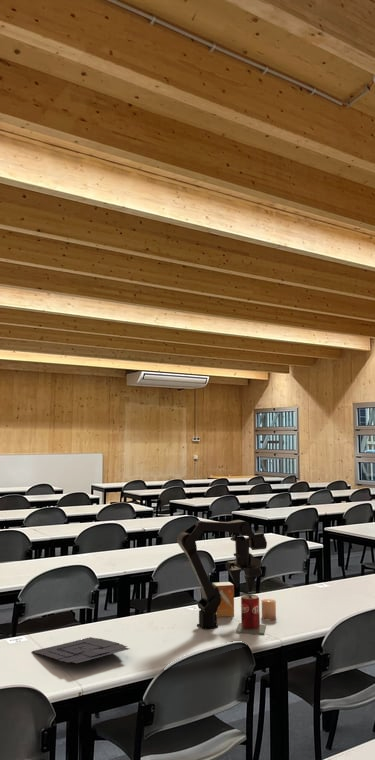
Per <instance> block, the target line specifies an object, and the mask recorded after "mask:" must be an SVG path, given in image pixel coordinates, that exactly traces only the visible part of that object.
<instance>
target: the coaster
mask: <svg viewBox="0 0 375 760" xmlns="http://www.w3.org/2000/svg"><path fill="white" fill-rule="evenodd" d="M266 628H267V624H261V623H260V627H259V629H257V630H245V629H243V628H242V626H241V622H239V623H238V624H237V627H236V629H235V634H245V635H246V634H247V635H259V636H261V635H262V636H264V635H265V632H266Z"/></svg>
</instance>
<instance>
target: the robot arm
mask: <svg viewBox="0 0 375 760" xmlns="http://www.w3.org/2000/svg"><path fill="white" fill-rule="evenodd" d="M204 532H224V533H226V532H227V533H232V534H233V535H232V536H231V537H230V538H229V539H230V541H232V542H235V544H234V545H235V547H234V548H235V552H234V553H233V556H234V557H235V560H231V561H226V563H225V564H224V565H225V566H224V567H225V570H227V572H228V573H229V576H230V577H231V579H232V581H233V585H234V587H235V588H239V586H240V573H241V572H242V571H243V573H244V579H245V583H246V588H247V590H248V592H249V593H252V591H253V587H254V584H255V581H256V579H257V578H258V577H260V576H261V575H263V573H262V571H263V570H262V568H261V565H262V559H259V558H257V557H254V555H253V554H252V553H250V549H251V551H258V550H260V551H261V550H266V549H267V546H268V542H267V538H266V536H265V533H264V532H258V533H254V531H252V529H251V525H250V523H249V522H248V521H245V520H241V519H234V520H231V521H209V520H207V521H206V520H200V519H199V520H197V521H196V522H195V523H193V524H192V525H191V526H189V527H188V528H187V529H185V530H184V531H183V532H180V533H179V534H178V536H177V538H176V541H177V544H178V546H179V547H180V549H181V550H182V552H184V554H185V555H186V556H187V559H188V561H189V563H190V566H191V568H192V570H193V572H194V575H195V577H196V579H197V581H198V583H199V586H200V595H201V598H200V600H199V601H198V602H197V604H196V605H197V608H198V609H199V610H198V623H196V626H197V627H200V628H201V629H203V630H210V629H215V628H219V625H218V617H217V614H216V612H217V609H218V606H219V605H220V603H221V597H220V596H222V595H221V594H220V593H219V590H218V587H217V586H215V585H213V584H212V583H211V582H210V579H209V576H208V574H207V572H206V569H205V568H204V566H203V563H202V561H201V559H200V557H199V554H198V547H197V543H196V542H197V540H199V539H200V537H201V536H202V534H203V533H204Z"/></svg>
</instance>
